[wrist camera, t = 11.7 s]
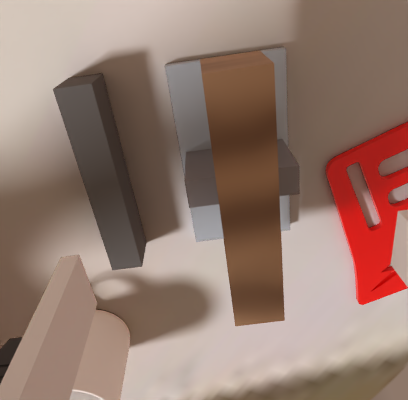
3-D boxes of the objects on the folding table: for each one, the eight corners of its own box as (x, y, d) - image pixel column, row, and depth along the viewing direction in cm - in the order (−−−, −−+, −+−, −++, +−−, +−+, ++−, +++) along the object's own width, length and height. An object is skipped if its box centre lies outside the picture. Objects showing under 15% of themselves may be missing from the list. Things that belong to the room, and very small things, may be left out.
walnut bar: (272, 278, 34) (284, 320, 30) (229, 283, 35) (235, 326, 30) (259, 50, 25) (274, 63, 20) (199, 59, 25) (201, 73, 20)
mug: (92, 278, 43) (65, 358, 34) (143, 341, 48) (132, 425, 39) (31, 302, 44) (-12, 385, 35) (87, 361, 50) (63, 446, 41)
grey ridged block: (196, 236, 40) (196, 280, 34) (165, 64, 32) (159, 81, 25) (288, 224, 40) (305, 267, 34) (283, 46, 31) (305, 60, 25)
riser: (119, 246, 41) (112, 270, 37) (68, 78, 32) (52, 89, 28) (146, 242, 41) (142, 266, 37) (102, 73, 32) (91, 83, 28)
